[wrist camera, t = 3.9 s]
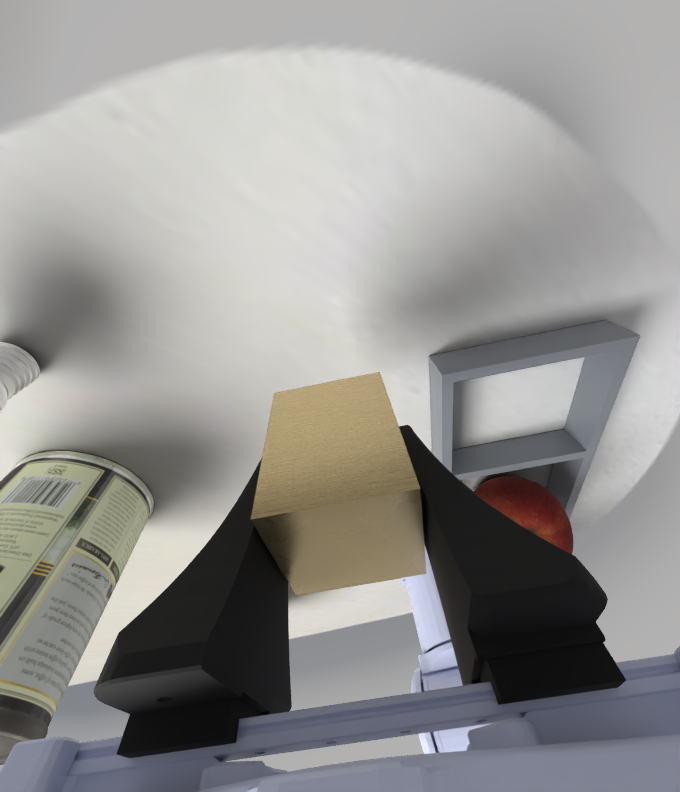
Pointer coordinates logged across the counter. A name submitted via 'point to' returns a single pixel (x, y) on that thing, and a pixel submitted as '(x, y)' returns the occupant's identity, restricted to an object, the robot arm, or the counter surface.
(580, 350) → the grey divided tray
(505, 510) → the apple
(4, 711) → the coffee can
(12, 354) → the lightbulb
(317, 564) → the wooden block
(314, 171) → the counter surface
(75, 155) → the counter surface
